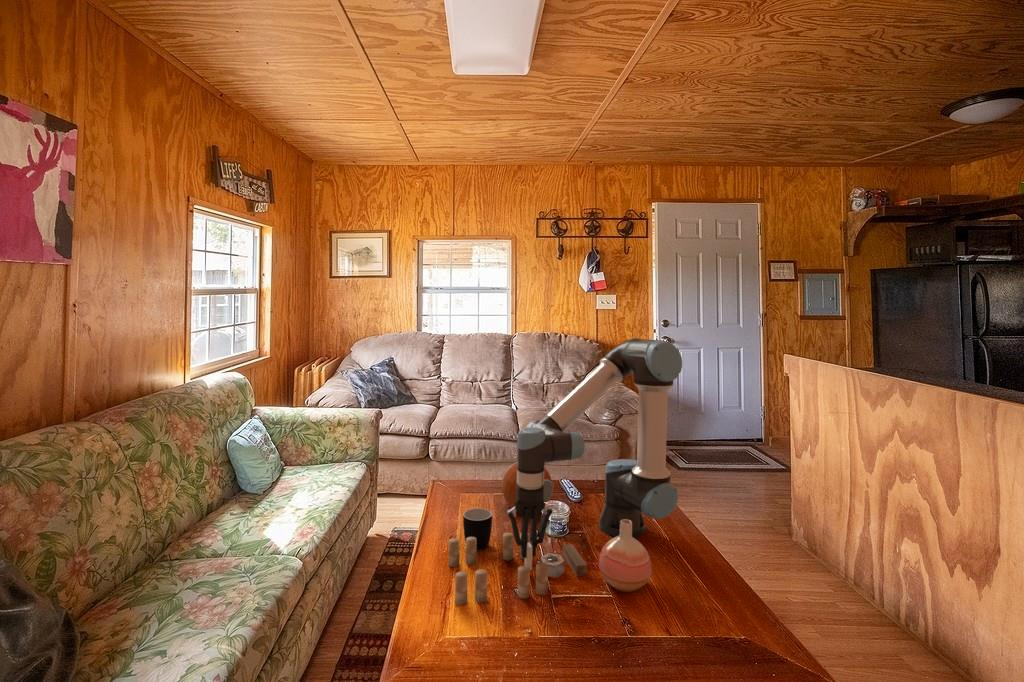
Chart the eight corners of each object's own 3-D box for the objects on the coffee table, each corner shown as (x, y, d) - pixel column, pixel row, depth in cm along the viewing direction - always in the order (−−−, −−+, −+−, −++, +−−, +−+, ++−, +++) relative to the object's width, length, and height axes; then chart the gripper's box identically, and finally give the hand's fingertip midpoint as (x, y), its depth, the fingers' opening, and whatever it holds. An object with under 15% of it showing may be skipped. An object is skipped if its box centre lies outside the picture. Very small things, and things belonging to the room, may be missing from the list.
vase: (652, 576, 133) (654, 514, 132) (649, 605, 120) (651, 537, 119) (602, 567, 137) (604, 507, 136) (594, 594, 124) (596, 528, 123)
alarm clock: (528, 492, 193) (529, 450, 191) (561, 506, 180) (562, 461, 179) (492, 505, 180) (492, 460, 179) (524, 521, 167) (525, 472, 166)
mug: (496, 549, 147) (496, 517, 146) (468, 555, 143) (468, 522, 142) (482, 532, 158) (482, 502, 157) (456, 537, 154) (456, 506, 153)
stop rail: (571, 553, 145) (572, 544, 145) (586, 575, 133) (586, 564, 133) (562, 554, 144) (562, 545, 144) (576, 576, 132) (576, 566, 132)
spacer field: (527, 553, 145) (528, 530, 144) (549, 595, 123) (549, 569, 123) (448, 561, 139) (448, 538, 139) (456, 607, 118) (456, 579, 118)
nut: (558, 563, 139) (558, 551, 139) (566, 576, 132) (566, 564, 132) (538, 565, 138) (538, 553, 137) (545, 579, 131) (545, 566, 131)
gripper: (548, 478, 137) (546, 558, 138) (504, 481, 134) (502, 563, 135) (557, 488, 130) (554, 572, 131) (510, 491, 127) (508, 577, 128)
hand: (528, 567), depth 133 cm, fingers closed
